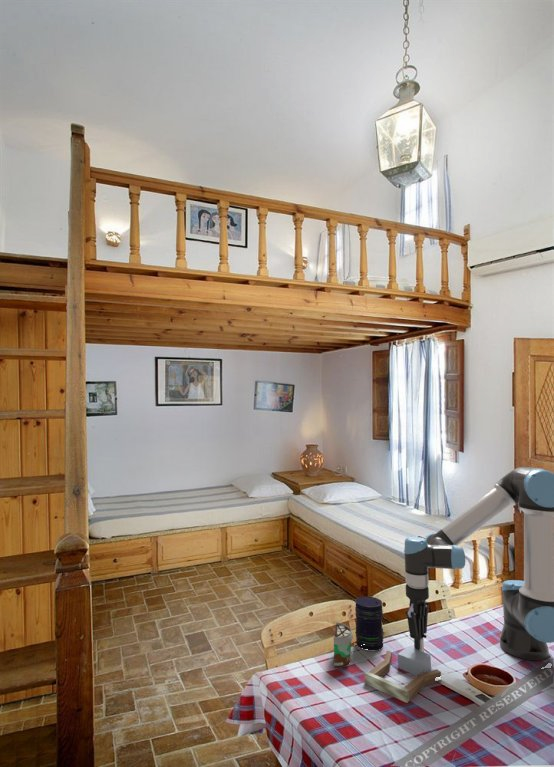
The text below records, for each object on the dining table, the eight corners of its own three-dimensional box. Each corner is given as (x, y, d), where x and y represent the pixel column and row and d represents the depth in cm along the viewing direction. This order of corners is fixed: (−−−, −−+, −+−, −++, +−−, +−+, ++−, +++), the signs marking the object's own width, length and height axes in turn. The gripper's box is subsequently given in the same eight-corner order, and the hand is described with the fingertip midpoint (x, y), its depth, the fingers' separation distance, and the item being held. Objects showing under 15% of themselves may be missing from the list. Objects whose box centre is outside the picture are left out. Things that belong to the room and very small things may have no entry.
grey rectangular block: (431, 669, 142) (430, 654, 143) (421, 678, 137) (420, 662, 138) (408, 660, 148) (407, 646, 148) (398, 668, 143) (397, 653, 143)
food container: (353, 672, 140) (352, 639, 141) (334, 670, 141) (333, 637, 142) (354, 653, 152) (353, 623, 153) (336, 651, 153) (336, 621, 154)
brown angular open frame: (441, 679, 136) (441, 669, 136) (414, 706, 123) (414, 695, 123) (387, 657, 149) (387, 648, 149) (357, 680, 135) (357, 670, 136)
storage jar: (353, 648, 156) (352, 604, 157) (358, 636, 165) (357, 594, 166) (381, 653, 152) (380, 608, 153) (385, 640, 161) (384, 598, 162)
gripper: (415, 577, 156) (417, 647, 153) (397, 587, 146) (399, 661, 144) (435, 582, 150) (438, 654, 148) (418, 593, 141) (421, 670, 139)
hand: (419, 658), depth 146 cm, fingers closed
